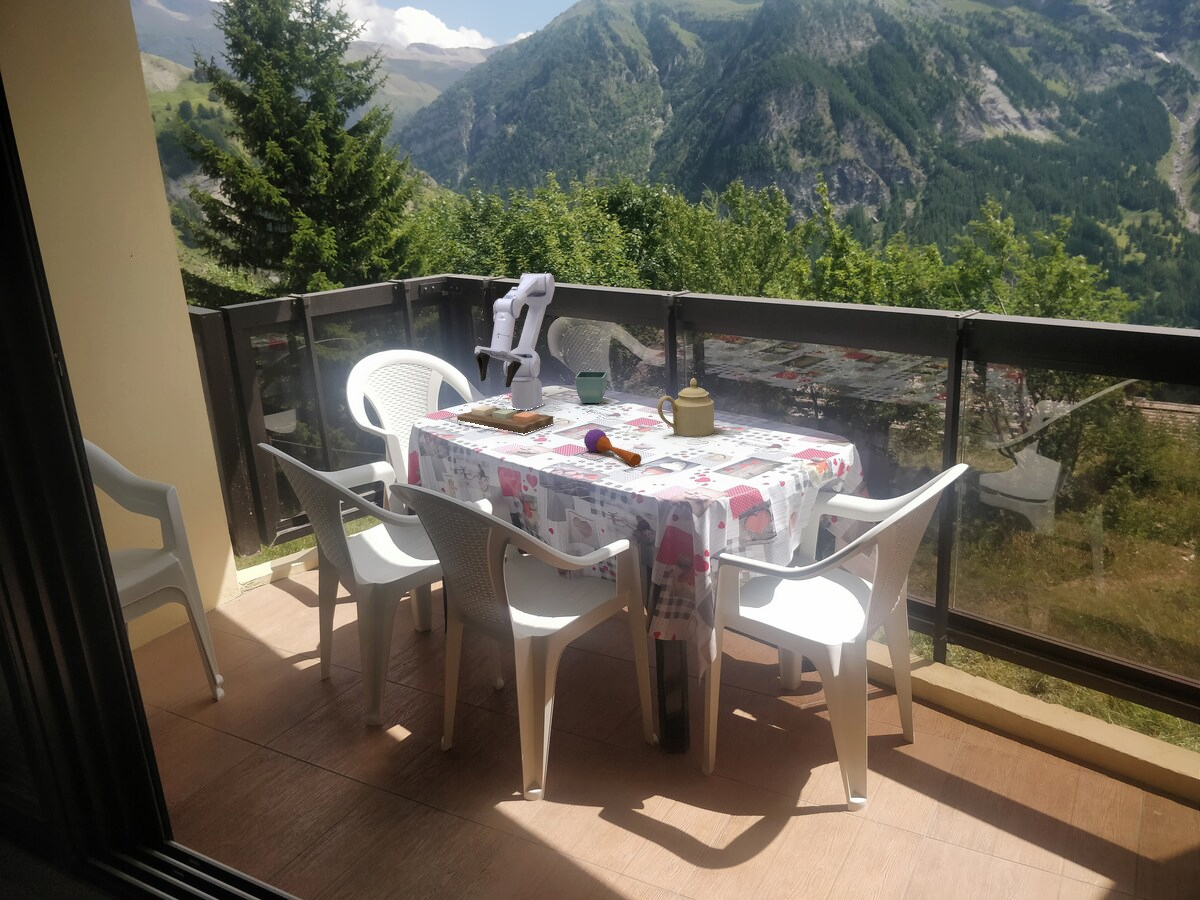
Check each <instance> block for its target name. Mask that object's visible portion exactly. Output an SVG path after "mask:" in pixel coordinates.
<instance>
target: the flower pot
mask: <svg viewBox="0 0 1200 900" xmlns="http://www.w3.org/2000/svg"><path fill="white" fill-rule="evenodd" d="M607 379H608V371H587V370H586V371H579V372H578V373H577V374H576V376H575V377H574V381H575V386H576V387H575V388H576V391H577V395H578V398H579V399H580V400H579V401H580V402H581V403H582V404H583V403H599V404H600V403H601V402H602V400H603V399H604V395H605V392H606V390H607V385H608V384H607V382H608V380H607Z"/></svg>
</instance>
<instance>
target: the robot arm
mask: <svg viewBox="0 0 1200 900" xmlns="http://www.w3.org/2000/svg"><path fill="white" fill-rule="evenodd" d="M554 277H555V276H554V275H552V273H550V272H549V273H548V272H547V273H525V272H523V273H522V274H521V275H520V278H519V284H518V286H512V287H511V289H510V290H509V291H508V292H507V293H506V294H505V295H504V296H503V297H502V298H497V299H496V300H495V301H494V304H493V308H492V310H493V318H492V319H493V322H494V325H493V330H492V338H491V345H490V347H485V346H481V345H477V346H475V347H474V355H476V362H477V366H478V368H479V374H480V381H481V382H484V381H486V378H487V372H488V365H489V362H490V358H492V359H496V360H499V361H504V362H503V373H504V375H505V376H506V380H505V388H510V390H511V405H512V407H513V408H516V409H520V410H526V409H527V410H529V409H531V408H534V407H537V406H540V405H542V404H545V405H546V403H544V402H543V400H544V399H543V387H542V385H543V384H542V382H541V380H540V379H539V378H538V376H539V374H540V368H541V366H540V365H541V358H540V355H539V353H538V352H537V351H535V349H536V346H537V345H536V344H537V342H538V338H539V336H540V330H541V327H542V323H543V320H544V316H545V313H546V309H547V306H548V305H549V304H551V303H552V301H553V300H552V299H553V296H554V294H555V293H554V292H555V289H556V285H555V278H554ZM525 304H526V305H528V311H527V314H526V316H525V317H526V318H525V321H524V325H523V329H522V332H521V335H520V339H519V343H518V345H517V347H516V348H513V349H512V344H513V337H514V330H515V323H516V319H518V318H519V317H520V314H521V310H522V308H523V306H524V305H525ZM540 407H541V406H540ZM537 408H538V407H537ZM534 409H535V408H534ZM531 410H532V409H531ZM529 411H530V410H529Z"/></svg>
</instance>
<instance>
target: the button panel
mask: <svg viewBox="0 0 1200 900" xmlns="http://www.w3.org/2000/svg"><path fill="white" fill-rule="evenodd" d="M500 409H503V408H500V407H496V411H497V410H500ZM522 412H523V411H519V410H517V414H519V413H522ZM538 415H539V419H538V420H535V421H532V422H530V423H523V422H517V421H514V418H513V417H512V418H509V419H506V420H504V419H498V418H492V414H490V415H487V416H479V415H473V414H472V411H469V412H466V413H463V414H459V415H457V416H456V419H457V421H458V420H460V421H465V422H470V423H475V424H479V425H484V426H488V427H494V428H498V429H503V430H508V431H513V432H518V433H523V434H525V433H528V432H531V431H534V430H537V429H539V428H542V427H545V426H548V425H551V424H553V425H554V416H553V415H546V414H540V413H538ZM551 426H552V425H551Z"/></svg>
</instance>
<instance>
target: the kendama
mask: <svg viewBox="0 0 1200 900" xmlns="http://www.w3.org/2000/svg"><path fill="white" fill-rule="evenodd" d="M583 441H584V442H583V443H584V446H585V448H586V450H588V451H590V452H592V453H604V452H609V451H611V452H612V453H613V454H615V455H616V456H618V457H619V458H620V459H622V460H623V461H625V462H626V463H627V464H629V465H630V466H631V467H633V466H634V467H636V466H635V465H638V466H639V465H640V464H641V462H642V455H640V454H639V453H636V452H633V451H630V450H626V449H623V448H619V447H616V446H613V444H612V442H611V439H610V438H609V437H608V436H607V434H606V433H605V432H604V430H602V429H598V428H595V429H590V430H589V431H587V432H586V433H585V435H584V438H583Z"/></svg>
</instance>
